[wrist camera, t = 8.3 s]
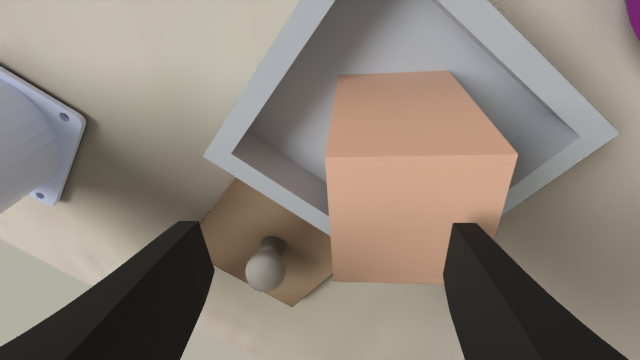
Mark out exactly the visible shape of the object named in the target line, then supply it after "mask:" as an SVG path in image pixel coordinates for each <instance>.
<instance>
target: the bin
mask: <svg viewBox="0 0 640 360" xmlns="http://www.w3.org/2000/svg"><path fill="white" fill-rule="evenodd" d="M441 70H448V71H449V72H450V73H451V74H452V75H453V77H454V78H455V79H456V80H457V81H458V83H459V84H460V85H461V86H462V87H463V89H464V90H465V91H466V92H467V93H468V95H469V96H470V97H471V98H472V99H473V101H474V102H475V103H476V104H477V105H478V107H479V108H480V109H481V110H482V111H483V113H484V114H485V115H486V116H487V117H488V119H489V120H490V121H491V122H492V123H493V125H494V126H495V127H496V128H497V129H498V131H499V132H500V133H501V134H502V135H503V137H504V138H505V139H506V140H507V141H508V143H509V144H510V145H511V146H512V147H513V149H514V150H515V151H516V152H517V153H518V157H517V161H516V164H515V168H514V171H513V175H512V179H511V182H510V186H509V189H508V193H507V196H506V200H505V204H504V207H503V211H502V214H501V216H502V215H504V214H505V213H507V212H508V211H509V210H511V209H512V208H514V207H515V206H517V205H518V204H520V203H521V202H522V201H524V200H525V199H527V198H528V197H530V196H531V195H532V194H534V193H535V192H537V191H538V190H540V189H541V188H542V187H544V186H545V185H547V184H548V183H550V182H551V181H552V180H554V179H555V178H557V177H558V176H560V175H561V174H563V173H564V172H565V171H567V170H568V169H570V168H571V167H573V166H574V165H575V164H577V163H578V162H580V161H581V160H583V159H584V158H585V157H587V156H588V155H590V154H591V153H593V152H594V151H595V150H597V149H598V148H600V147H601V146H603V145H604V144H605V143H607V142H608V141H610V140H611V139H613V138H614V137H616V136H617V135H618V134H620V133H619V132H618V131H617V130H616V129H615V128H614V127H613V126H612V125H611V124H610V123H609V122H608V121H607V120H606V119H605V118H604V117H603V116H602V115H601V114H600V113H599V112H598V111H597V110H596V109H595V108H594V107H593V106H592V105H591V104H590V103H589V102H588V101H587V100H586V99H585V98H584V97H583V96H582V95H581V94H580V93H579V92H578V91H577V90H576V89H575V88H574V87H573V86H572V85H571V84H570V83H569V82H568V81H567V80H566V79H565V78H564V77H563V76H562V75H561V74H560V73H559V72H558V71H557V70H556V69H555V68H554V67H553V66H552V65H551V64H550V63H549V62H548V61H547V60H546V59H545V58H544V57H543V56H542V55H541V54H540V53H539V52H538V51H537V50H536V49H535V48H534V47H533V46H532V45H531V43H530V42H529V41H528V40H527V39H526V38H525V37H524V36H523V35H522V34H521V33H520V32H519V31H518V30H517V29H516V28H515V27H514V26H513V25H512V24H511V23H510V22H509V21H508V20H507V19H506V18H505V17H504V16H503V15H502V14H501V13H500V12H499V11H498V10H497V9H496V8H495V7H494V6H493V5H492V4H491V3H490V2H489V1H488V0H300V1H299V3H298V4H297V6H296V7H295V9H294V11H293V12H292V14H291V15H290V17H289V19H288V20H287V22H286V24H285V25H284V27H283V28H282V30H281V32H280V33H279V35H278V36H277V38H276V40H275V41H274V43H273V44H272V46H271V48H270V49H269V51H268V52H267V54H266V56H265V57H264V59H263V60H262V62H261V64H260V65H259V67H258V68H257V70H256V72H255V73H254V75H253V76H252V78H251V80H250V81H249V83H248V84H247V86H246V88H245V89H244V91H243V92H242V94H241V96H240V97H239V99H238V100H237V102H236V104H235V105H234V107H233V109H232V110H231V112H230V113H229V115H228V117H227V118H226V120H225V121H224V123H223V125H222V126H221V128H220V129H219V131H218V133H217V134H216V136H215V137H214V139H213V141H212V142H211V144H210V145H209V147H208V149H207V150H206V152H205V153H204V155H203V157H204V158H206V159H208V160H209V161H211V162H212V163H214V164H216V165H217V166H219V167H220V168H222V169H224V170H225V171H227V172H228V173H230V174H232V175H233V176H235V177H236V178H238V179H240V180H241V181H243V182H244V183H246V184H248V185H249V186H251V187H252V188H254V189H256V190H257V191H259V192H260V193H262V194H264V195H265V196H267V197H268V198H270V199H272V200H273V201H275V202H276V203H278V204H280V205H281V206H283V207H284V208H286V209H288V210H289V211H291V212H292V213H294V214H296V215H297V216H299V217H300V218H302V219H304V220H305V221H307V222H309V223H310V224H312V225H313V226H315V227H317V228H318V229H320V230H321V231H323V232H325V233H326V234H328V235H329V236H330V223H329V209H328V194H327V180H326V166H325V154H326V148H327V142H328V135H329V129H330V123H331V117H332V111H333V105H334V99H335V93H336V86H337V80H338V75H351V74H373V73H396V72H419V71H441Z"/></svg>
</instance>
